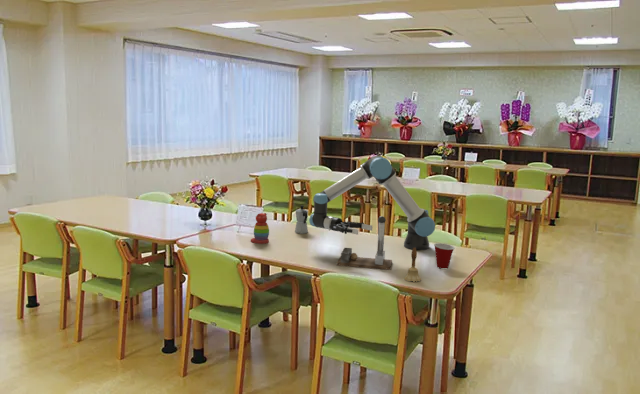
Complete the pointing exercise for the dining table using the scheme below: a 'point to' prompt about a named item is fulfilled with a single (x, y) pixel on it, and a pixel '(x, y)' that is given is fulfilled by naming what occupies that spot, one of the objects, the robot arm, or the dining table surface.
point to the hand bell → (413, 269)
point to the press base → (360, 261)
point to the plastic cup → (443, 254)
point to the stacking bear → (261, 229)
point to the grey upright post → (380, 242)
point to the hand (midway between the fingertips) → (365, 230)
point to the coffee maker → (301, 221)
